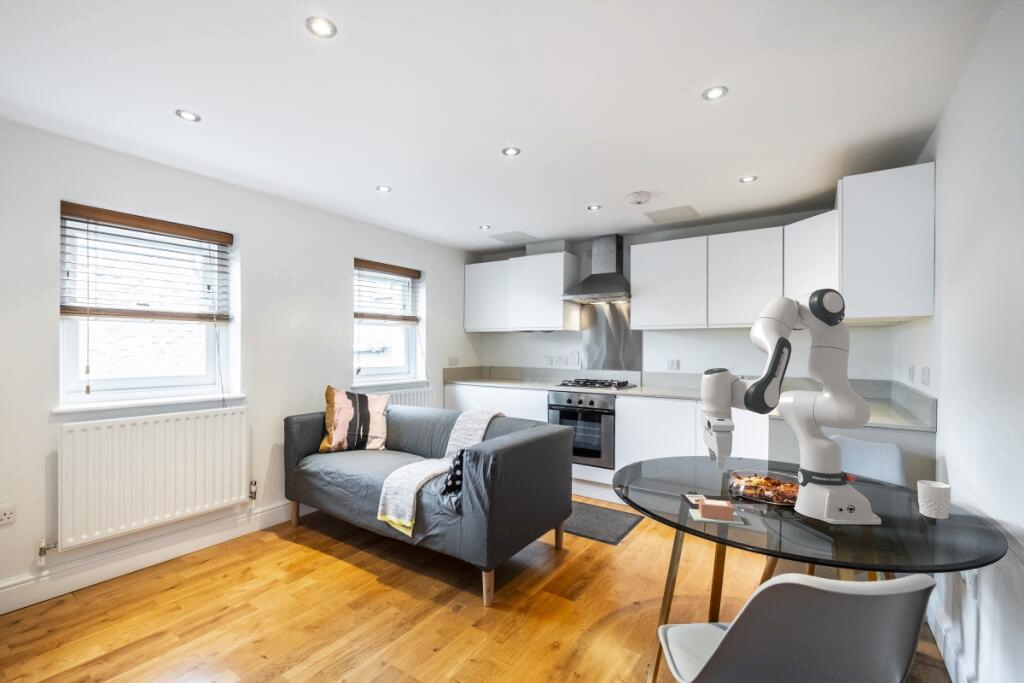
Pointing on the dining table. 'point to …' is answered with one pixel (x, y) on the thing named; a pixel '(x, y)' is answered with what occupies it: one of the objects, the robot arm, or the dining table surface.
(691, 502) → the chocolate bar
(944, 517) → the white cup
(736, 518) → the mat
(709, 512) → the deck
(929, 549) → the dining table surface
